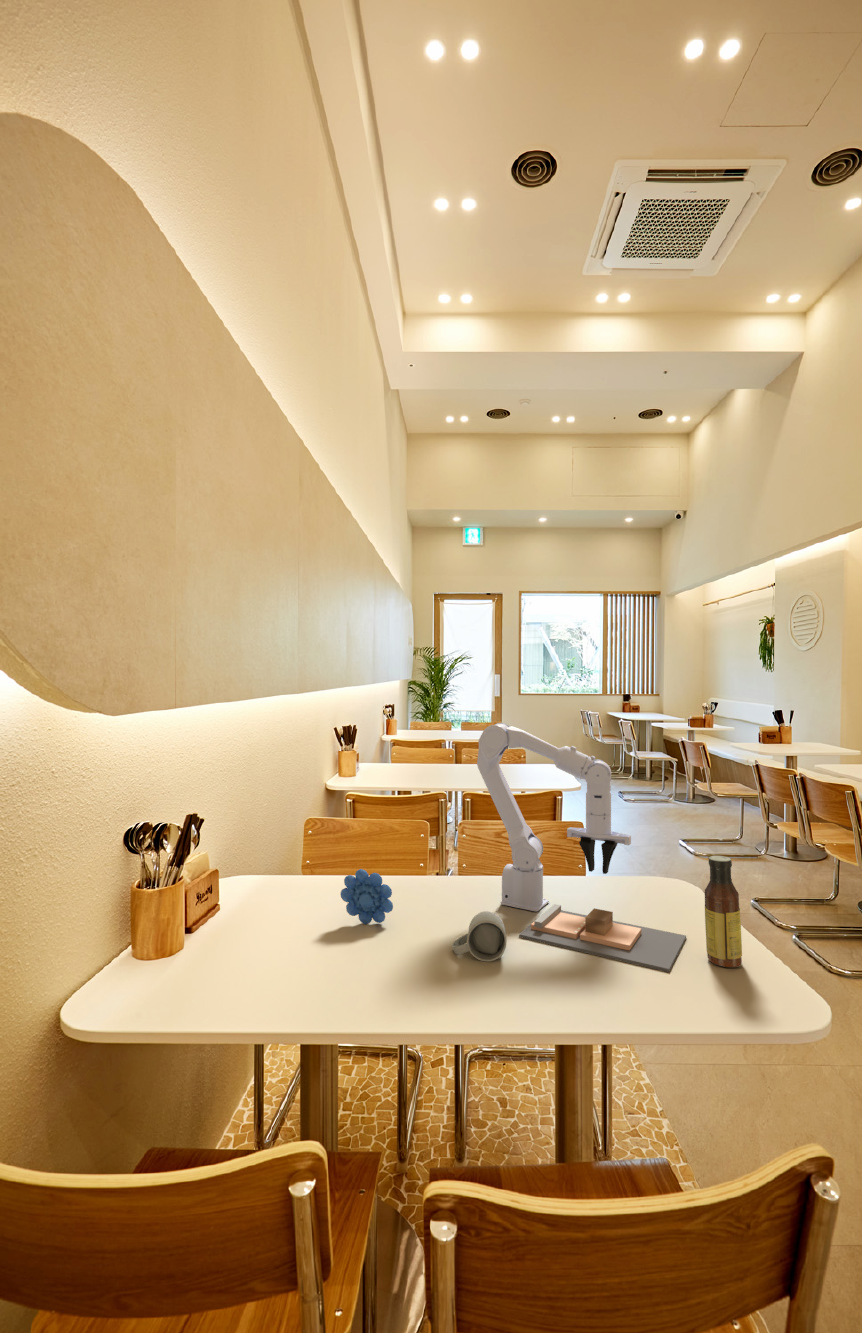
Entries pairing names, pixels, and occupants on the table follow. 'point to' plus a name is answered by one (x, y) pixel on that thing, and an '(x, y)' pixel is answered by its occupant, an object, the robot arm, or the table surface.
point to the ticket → (559, 923)
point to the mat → (646, 951)
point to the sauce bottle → (722, 915)
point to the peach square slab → (608, 930)
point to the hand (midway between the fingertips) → (598, 871)
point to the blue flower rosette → (367, 896)
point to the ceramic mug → (483, 938)
